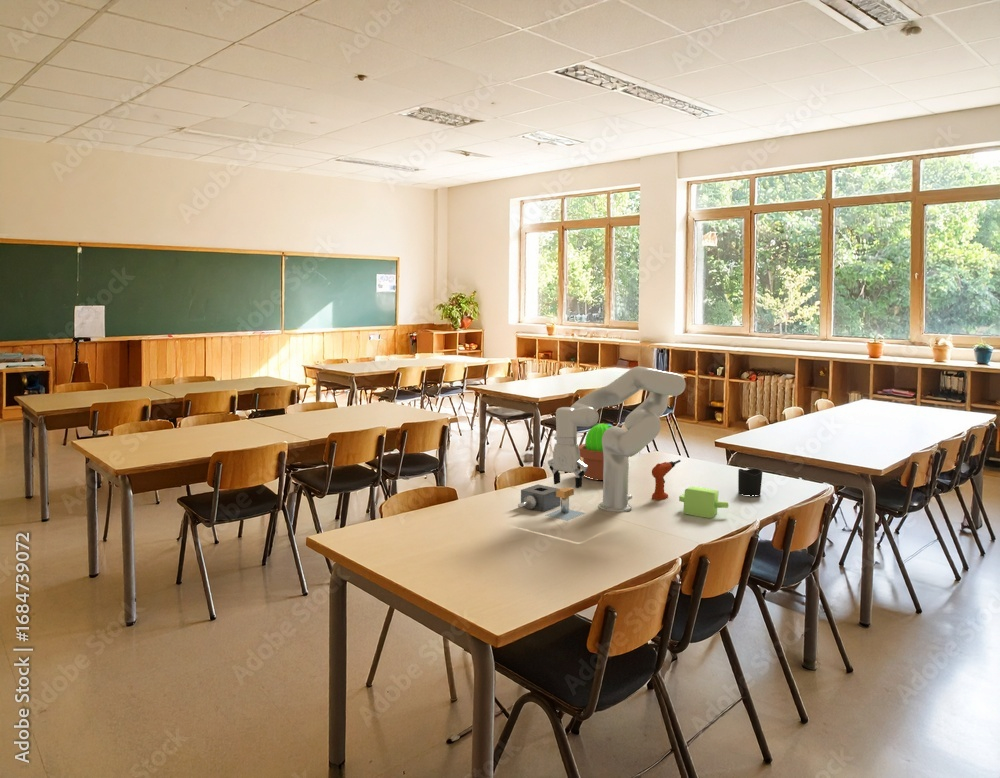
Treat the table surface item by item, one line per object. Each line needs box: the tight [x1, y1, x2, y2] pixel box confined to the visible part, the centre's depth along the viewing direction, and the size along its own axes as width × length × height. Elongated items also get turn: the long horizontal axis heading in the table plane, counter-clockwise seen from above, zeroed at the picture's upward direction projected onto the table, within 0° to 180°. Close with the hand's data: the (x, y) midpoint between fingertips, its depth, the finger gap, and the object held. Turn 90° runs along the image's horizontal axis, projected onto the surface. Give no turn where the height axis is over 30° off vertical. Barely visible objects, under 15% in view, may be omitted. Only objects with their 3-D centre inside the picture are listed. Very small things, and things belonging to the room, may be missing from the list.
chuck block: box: [517, 483, 561, 513], centre depth 282 cm, size 19×11×7 cm, turn 141°
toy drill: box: [651, 459, 682, 501], centre depth 302 cm, size 5×19×15 cm, turn 132°
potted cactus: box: [578, 422, 615, 480], centre depth 332 cm, size 22×22×25 cm
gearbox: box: [678, 486, 729, 519], centre depth 278 cm, size 18×10×10 cm, turn 58°
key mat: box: [545, 508, 586, 521], centre depth 275 cm, size 12×10×1 cm
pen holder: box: [737, 468, 763, 496], centre depth 305 cm, size 9×9×10 cm
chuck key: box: [556, 486, 575, 513], centre depth 277 cm, size 6×4×9 cm, turn 142°
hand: (567, 485), depth 277 cm, fingers open, 9 cm apart
